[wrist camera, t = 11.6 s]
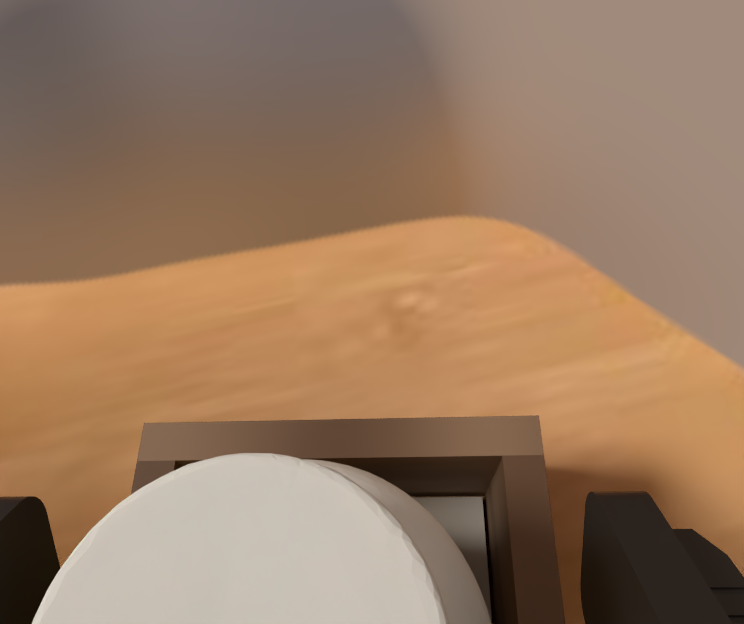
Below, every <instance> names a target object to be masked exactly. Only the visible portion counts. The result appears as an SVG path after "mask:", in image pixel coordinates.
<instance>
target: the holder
mask: <svg viewBox="0 0 744 624" xmlns="http://www.w3.org/2000/svg"><path fill="white" fill-rule="evenodd" d="M239 453H272V454H280V455H287V456H292V457H296V458H300V459H311V460H323V461H329V462H335V463H339V464H344V465H349V466H352V467H355V468H358V469H361V470H364V471H366V472H369V473H371V474H373V475H376V476H378V477H380V478H382V479H384V480H386V481H387V482H389V483H391V484H393V485H394V486H396V487H398V488H399V489H401V490H402V491H404V492H405V493H407V494H408V495H409V496H410V497H411V496H485V508H486V520H487V533H488V546H489V558H490V571H491V583H492V596H493V609H494V621H495V624H565V618H564V610H563V602H562V595H561V587H560V579H559V571H558V563H557V555H556V547H555V539H554V531H553V524H552V516H551V508H550V500H549V492H548V484H547V476H546V468H545V460H544V453H543V445H542V437H541V429H540V421H539V416H490V417H438V418H386V419H334V420H282V421H230V422H178V423H144V426H143V431H142V437H141V442H140V448H139V453H138V459H137V464H136V470H135V475H134V481H133V486H132V492H131V494H133V493H134V492H136V491H137V490H139V489H140V488H142V487H144V486H145V485H147V484H149V483H151V482H153V481H155V480H156V479H158V478H160V477H162V476H164V475H166V474H168V473H170V472H172V471H175V470H177V469H179V468H181V467H183V466H185V465H187V464H191V463H195V462H199V461H203V460H206V459H210V458H214V457H218V456H223V455H230V454H239ZM412 498H413V499H414V500H415V501H417V502H418V503H419V504H420V505H421V506H423V507H424V508H425V509H426V510H427V511H428V512H429V513H430V514H431V515H432V516H433V517H434V518H435V519H436V520H437V521H438V522H439V523H440V524H441V526H442V527H443V528H444V529H445V531H446V532H447V533H448V534H449V536H450V537H451V538H452V539H453V541H454V542H455V544H456V545H457V547H458V548H459V550H460V551H461V553H462V554H463V556H464V558H465V560H466V562H467V563H468V565H469V567H470V569H471V571H472V572H473V574H474V576H475V579H476V581H477V584H478V586H479V588H480V591H481V593H482V596H483V598H484V601H485V604H486V607H487V610H488V613H489V617H490V621H491V624H492V616H491V603H490V591H489V578H488V565H487V552H486V539H485V526H484V513H483V500H482V497H412Z"/></svg>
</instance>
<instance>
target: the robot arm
mask: <svg viewBox="0 0 744 624" xmlns="http://www.w3.org/2000/svg"><path fill="white" fill-rule="evenodd" d="M59 570H60V565H59V561H58V557H57V553H56V549H55V545H54V540H53V536H52V532H51V528H50V524H49V520H48V516H47V512H46V509H45V506H44V504H43V503H42V501H41V500H40V499H38V498H37V497H0V624H32V622H33V619H34V617H35V615H36V613H37V610H38V608H39V606H40V604H41V602H42V600H43V598H44V596H45V594H46V592H47V590H48V588H49V586H50V584H51V583H52V581H53V579H54V578H55V576H56V575H57V573H58V571H59ZM581 601H582V608H583V614H584V619H585V624H744V577H743V576H742V574H741V573H740V572H739V570H738V569H737V568H736V566H735V565H734V563H733V562H732V561H731V559H730V558H729V557H728V555H726V554H725V553H724V552H722V551H721V550H720V549H718V548H717V547H716V546H714V545H713V544H712V543H710V542H709V541H708V540H706V539H705V538H703V537H702V536H701V535H699V534H698V533H697V532H695V531H694V530H693V529H672V528H671V527H670V525H669V524H668V522H667V521H666V519H665V518H664V516H663V515H662V513H661V511H660V510H659V508H658V507H657V505H656V504H655V502H654V501H653V499H652V498H651V496H650V495H649V494H648V493H647V492H645V491H626V492H590V493H589V494H588V496H587V499H586V505H585V519H584V535H583V551H582V567H581Z"/></svg>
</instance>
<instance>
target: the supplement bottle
mask: <svg viewBox="0 0 744 624" xmlns="http://www.w3.org/2000/svg"><path fill="white" fill-rule="evenodd" d="M32 624H491V621H490V617H489V613H488V610H487V607H486V604H485V601H484V598H483V596H482V593H481V591H480V588H479V586H478V584H477V581H476V579H475V576H474V574H473V572H472V571H471V569H470V567H469V565H468V563H467V562H466V560H465V558H464V556H463V554H462V553H461V551H460V550H459V548H458V547H457V545H456V544H455V542H454V541H453V539H452V538H451V537H450V536H449V534H448V533H447V532H446V531H445V529H444V528H443V527H442V526H441V524H440V523H439V522H438V521H437V520H436V519H435V518H434V517H433V516H432V515H431V514H430V513H429V512H428V511H427V510H426V509H425V508H424V507H423V506H421V505H420V504H419V503H418V502H417V501H415V500H414V499H413V498H412V497H410V496H409V495H408V494H407V493H405V492H404V491H402V490H401V489H399V488H398V487H396V486H394V485H393V484H391V483H389V482H387V481H386V480H384V479H382V478H380V477H378V476H376V475H373V474H371V473H369V472H366V471H364V470H361V469H358V468H355V467H352V466H349V465H344V464H339V463H335V462H329V461H323V460H311V459H300V458H296V457H292V456H287V455H280V454H272V453H239V454H230V455H223V456H218V457H214V458H210V459H206V460H203V461H199V462H195V463H191V464H187V465H185V466H183V467H181V468H179V469H177V470H175V471H172V472H170V473H168V474H166V475H164V476H162V477H160V478H158V479H156V480H155V481H153V482H151V483H149V484H147V485H145V486H144V487H142V488H140V489H139V490H137V491H136V492H134V493H133V494H131V495H130V496H129V497H127V498H126V499H124V500H123V501H122V502H120V503H119V504H118V505H117V506H116V507H114V508H113V509H112V510H111V511H110V512H109V513H108V514H107V515H106V516H105V517H103V518H102V519H101V520H100V521H99V522H98V523H97V524H96V525H95V526H94V527H93V528H92V529H91V530H90V531H89V532H88V534H87V535H86V536H85V537H84V538H83V540H82V541H81V542H80V543H79V544H78V546H77V547H76V548H75V549H74V551H73V552H72V553H71V555H70V556H69V558H68V559H67V560H66V562H65V563H64V564H63V566H62V567H61V568H60V570H59V571H58V573H57V575H56V576H55V578H54V579H53V581H52V583H51V584H50V586H49V588H48V590H47V592H46V594H45V596H44V598H43V600H42V602H41V604H40V606H39V608H38V610H37V613H36V615H35V617H34V619H33V622H32Z"/></svg>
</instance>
